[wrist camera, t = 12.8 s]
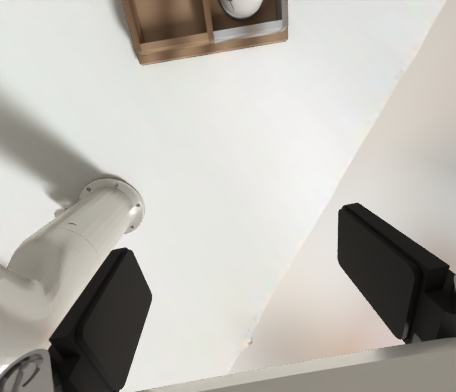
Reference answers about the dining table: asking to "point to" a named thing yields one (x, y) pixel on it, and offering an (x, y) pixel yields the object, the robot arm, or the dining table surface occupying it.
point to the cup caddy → (199, 28)
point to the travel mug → (240, 8)
